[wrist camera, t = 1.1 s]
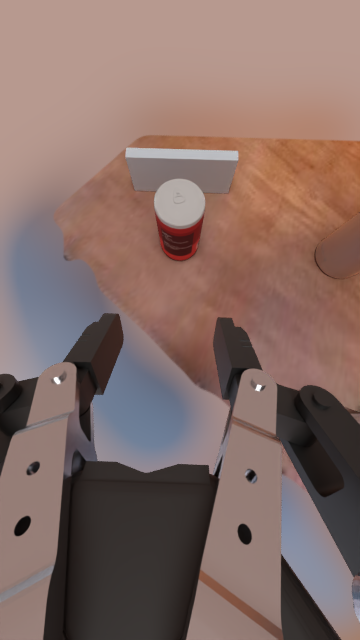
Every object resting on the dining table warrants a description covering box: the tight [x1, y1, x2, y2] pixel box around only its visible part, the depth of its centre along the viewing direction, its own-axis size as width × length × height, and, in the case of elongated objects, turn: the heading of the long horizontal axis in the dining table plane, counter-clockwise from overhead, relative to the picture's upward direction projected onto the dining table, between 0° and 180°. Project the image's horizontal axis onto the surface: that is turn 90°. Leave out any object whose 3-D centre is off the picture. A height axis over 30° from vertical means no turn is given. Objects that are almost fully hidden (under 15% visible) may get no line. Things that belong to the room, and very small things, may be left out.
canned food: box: [154, 179, 205, 260], centre depth 32 cm, size 8×8×11 cm
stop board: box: [126, 148, 238, 193], centre depth 37 cm, size 20×7×7 cm, turn 88°
